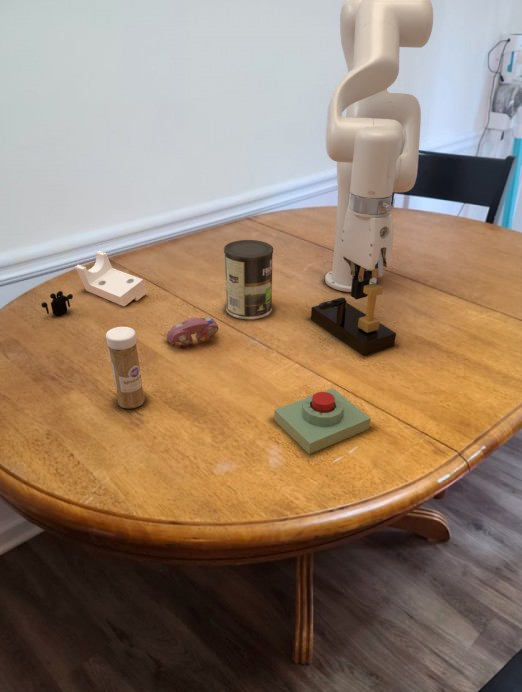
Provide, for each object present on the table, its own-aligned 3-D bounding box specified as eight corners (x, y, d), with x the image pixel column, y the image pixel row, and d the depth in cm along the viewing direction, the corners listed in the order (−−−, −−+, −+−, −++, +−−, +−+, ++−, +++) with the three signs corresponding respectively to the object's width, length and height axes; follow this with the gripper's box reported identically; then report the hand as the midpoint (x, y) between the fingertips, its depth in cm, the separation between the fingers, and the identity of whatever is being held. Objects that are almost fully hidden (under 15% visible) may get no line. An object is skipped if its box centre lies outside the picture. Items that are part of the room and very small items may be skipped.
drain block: (332, 398, 99) (333, 379, 96) (369, 429, 92) (372, 409, 90) (274, 420, 93) (274, 400, 91) (309, 454, 86) (310, 434, 84)
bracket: (88, 294, 132) (75, 266, 126) (110, 277, 135) (98, 250, 130) (125, 309, 126) (113, 282, 120) (147, 292, 129) (137, 264, 124)
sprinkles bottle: (135, 412, 94) (124, 341, 86) (112, 405, 95) (99, 335, 87) (150, 397, 97) (141, 328, 89) (127, 391, 98) (116, 323, 91)
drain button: (325, 397, 92) (325, 389, 91) (338, 409, 90) (339, 400, 89) (307, 404, 91) (307, 395, 90) (320, 416, 88) (321, 407, 87)
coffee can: (276, 301, 129) (277, 241, 121) (266, 322, 121) (267, 259, 112) (233, 296, 130) (231, 237, 122) (220, 316, 122) (217, 254, 114)
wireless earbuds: (73, 307, 124) (69, 286, 121) (79, 311, 122) (75, 290, 120) (43, 317, 120) (38, 295, 117) (49, 321, 118) (44, 299, 115)
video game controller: (171, 355, 111) (174, 335, 106) (164, 337, 113) (166, 316, 107) (218, 345, 115) (223, 324, 109) (210, 327, 117) (214, 306, 111)
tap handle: (368, 323, 115) (374, 282, 109) (378, 329, 113) (384, 287, 107) (357, 326, 113) (362, 285, 108) (367, 333, 111) (372, 291, 106)
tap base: (339, 311, 126) (343, 274, 121) (394, 346, 114) (400, 307, 109) (291, 325, 120) (293, 287, 115) (344, 363, 108) (348, 323, 103)
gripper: (414, 211, 98) (398, 307, 109) (360, 190, 108) (350, 279, 119) (381, 218, 95) (368, 316, 105) (328, 195, 105) (321, 286, 115)
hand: (359, 296), depth 112 cm, fingers closed
